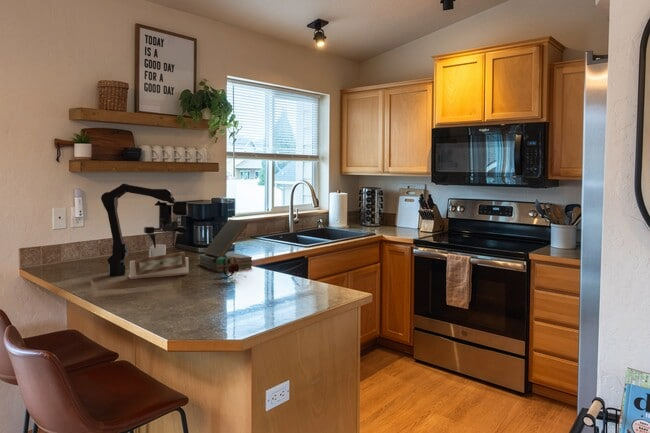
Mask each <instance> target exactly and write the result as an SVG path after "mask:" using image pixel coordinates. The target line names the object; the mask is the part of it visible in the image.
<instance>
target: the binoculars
mask: <svg viewBox="0 0 650 433" xmlns="http://www.w3.org/2000/svg"><path fill="white" fill-rule="evenodd" d="M213 262H214V263H216V262H217V264H223V265H228V264H231V265H232V266H229V268H228V271H225V268H226V267H227V266H222V267H223V272H222V273H223V275H225V276H226V277H233V275H234V273H237V272H239V271H240V270H239V266H238V262H239V257H236V258H235V257H232V256H231V257H227V256H226V255H224V256H223V257H219V258H218V259H216V258H214V259H213ZM234 263H237V264H234ZM227 272H228V273H229V274H230V275H228V274H227Z"/></svg>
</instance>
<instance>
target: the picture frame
mask: <svg viewBox="0 0 650 433" xmlns="http://www.w3.org/2000/svg"><path fill="white" fill-rule="evenodd" d="M185 253H186V252H185V251H181V252H173V253H169V254H168V253H166V255H160V256H154V257H152V256H151V257H149V256H148V257H144V258H143V257H142V258H135V259H134V261H135V266H136V275H141V274H147V273H153V272H159V271H164V270H170V269H176V268H182V267H186V261H185V257H186V254H185Z"/></svg>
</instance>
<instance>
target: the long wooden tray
mask: <svg viewBox="0 0 650 433" xmlns="http://www.w3.org/2000/svg"><path fill="white" fill-rule="evenodd" d="M185 261H186V267H182V268H176V269H170V270H164V271H159V272H153V273H147V274H141V275H136V266H135V260H130V261H129V274H128V278H129V279H130V280H136V279H148V278H160V277H161V278H162V277H170V276H171V277H173V276H174V277H175V276H185V275H189V272H190V271H189V256H188V257H186V256H185Z"/></svg>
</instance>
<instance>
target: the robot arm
mask: <svg viewBox="0 0 650 433" xmlns="http://www.w3.org/2000/svg"><path fill="white" fill-rule="evenodd" d="M126 193H130V194H135V195H142V196H146V197H151V198H154V199H155V200H157V201H156V203H155V204H154V206H158V227H154V226H144V228H143V233H144V234H146V235H147V236H149V238H150V240H151V243H152V245H154V248H156V244H157V243H156V234H155V233H161V232H162V233H168V232H170V233H174V238H173V239H174V241H173V242H174V243H173V246H174V249H175V248H177V244H178V242H179V240H180V237H181V236H183V235H184V234H187V227H185V226H182V225H181V226H179V222H178V221H175V220H174V221H173V215H174V216H181V217H182V216H185V217H188V215H189V208H188V207H189V205H188V201H177V200H176V199H175V198H174V197H173V196H174V195H173V192H172V190H170V189H168V188H149V187H143V186H137V185H134V184H133V185H132V184H128V183H122V184H120V185H119V186H117V187H116V188H114V189H111V190H110V191H106V192H104V193H103V194H102V195H101V197H100V200H101V202H102V204H103V207H104V209H105V210H106V213H107V218H108V222H109V228H110V233H111V237H112V249H111V250H112V254H111V256H109V257H108V259H107V260H106V261H107V263H108V277H109V278H110V277H124V276H126V265H125V263H124V261H125V259H126V258H127V257H128V255H129V253H130V251H131V249H130V248H129V242H125V241H124V239H123V234H122V229H121V223H120V218H119V214H118V207H119V206H118V205H119V199H120V198H122V197H123V196H124V195H125V194H126ZM161 201H162V202H161ZM172 214H173V215H172Z"/></svg>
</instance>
